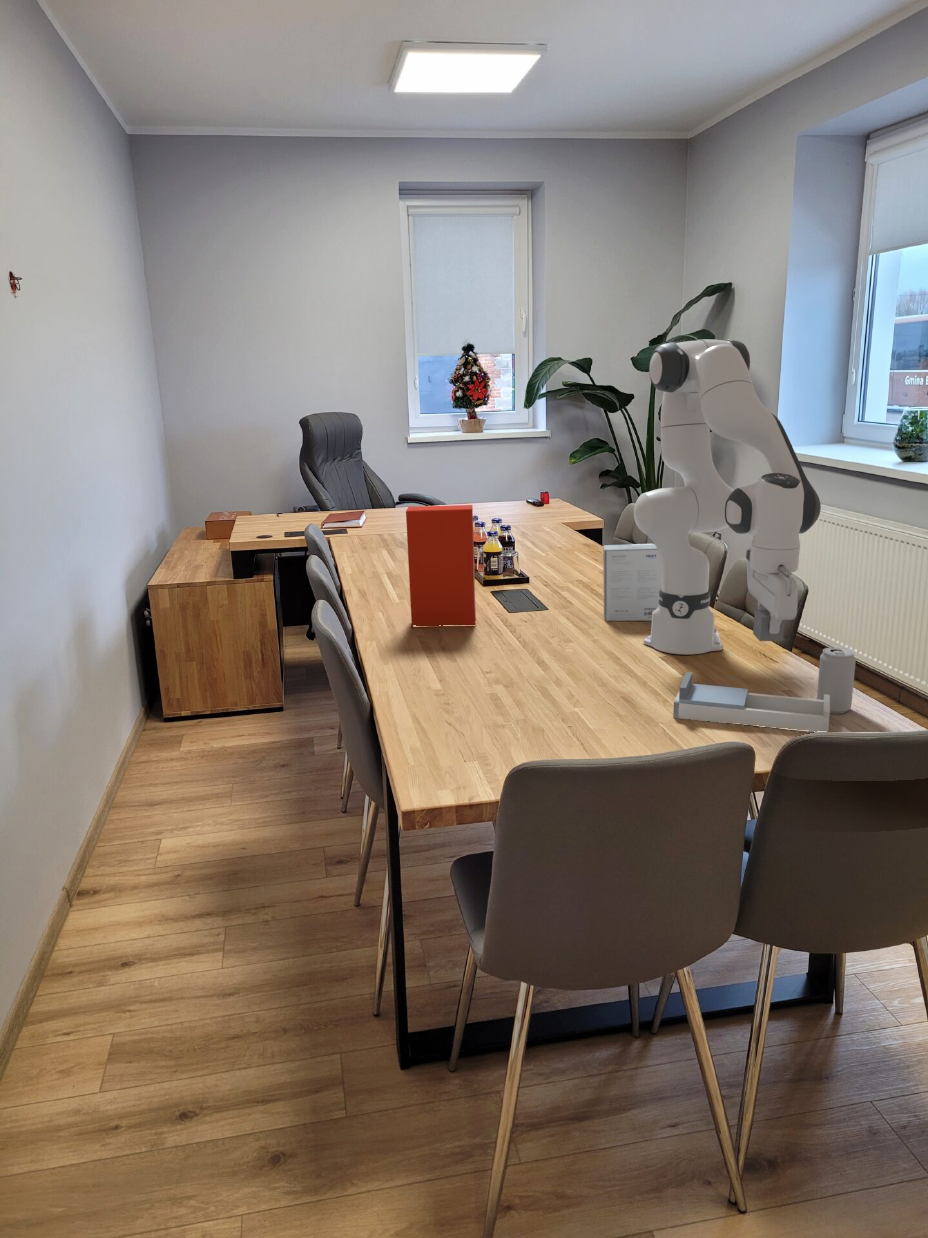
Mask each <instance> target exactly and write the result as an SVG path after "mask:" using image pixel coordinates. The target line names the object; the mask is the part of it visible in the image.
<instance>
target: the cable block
mask: <svg viewBox="0 0 928 1238" xmlns="http://www.w3.org/2000/svg"><path fill="white" fill-rule="evenodd" d="M770 620H771V617H770V612H769V611H768V610H759V609H754V618H753V628H752V629H753V630H752V631H753V632H752V635H754V636H755V637H756V639H757V640H758V641H759V642H781V641H782V642H784V633H785V622H786V620H782V622H781V624H780V630H779V633H778V634H771V633H770V632H769V631H768V623H770Z"/></svg>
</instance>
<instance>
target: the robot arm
mask: <svg viewBox="0 0 928 1238" xmlns="http://www.w3.org/2000/svg"><path fill="white" fill-rule="evenodd" d="M649 360H650V361H649V365H648V369H649V378H650V381H651V384H652V385H653V386H654V387H655V389H656V390H658V391H660V392H663V395H662V400H661V407H660V408H661V410H660V442H661V443H660V445H661V447H660V448H661V460H662V461H663V462H664V465H666V466H667V467H668V468H669V469H671V470H673V471H675V472H677V473H678V474H679V475H680V476H681V478H682V480H683V483H684V486H680V487H679V486H677V487H664V488H663V487H662V488H657V489H653V490H650V491H646V492H643V493H641V494H640V495H639V496H638V498H637V499H636V501H635V503H634V508H633V518H634V521H635V524H636V526H637V528H638V529H639V530H640V531H641V532H642V534H645V536H647V537H648V538H649V539H650V540H651V542H653V544H655V546H656V548H657V550H658V552H659V556H660V561H661V589H660V590H659V596H658V598H659V607H658V608H657V609H656V610H655V611H654V612H653V613H652V621H651V628H650V635H648V636H647V637H645V638H644V639H643V644H644V645H645V646H649V647H653V648H654V649H655V650H656V651H657V650H658V651H659V652H662V653H663V652H664V653H668V654H674V655H701V654H706V653H708V652H716V651H722V650H723V643H722V640H721V637H720V634H719V631H718V629H717V628H716V627H715V620H716V619H715V617H716V616H715V615H714V614H713V612H712V611H711V609H710V604H711V592H710V589H709V581H710V561H709V558H708V557H707V555H706V554H705V553H704V552H703V551H701V550H700V549H697V548H696V547H693V546H692V545H691V543H690V539H689V537H690V536H689V535H690V534H697V533H699V534H700V533H711V532H712V533H714V532H717V531H721V530H725V529H727V528H730V529H731V530H732V531H734V532H735V533H736V534H740V535H752V540H751V547H749V548H747V549H745V559H746V560H747V567H746V575H747V576H746V577H747V580H746V581H747V583H746V586H747V589H748V593H749V594H750V595H751V596H752V597H753V598H755V600H757V610H768V611H769V612H770V617H771V620H770V623H768V631H769V632H770V633H771V634H778V633H779V630H780V624H781V622H782V620H785V621H786V620H789V621H790V620H794V619H796V617H797V615H798V614H797V613H798V602H799V601H798V600H799V599H798V595H799V593H798V592H799V589H798V587H799V586H798V582H797V580H796V578H794V577H793V576H792V573H795V572H798V570H799V564H800V563H799V562H800V552H801V540H800V535H801V534H804V533H806V532H807V531H809V530H810V529H811V528H812V527H813V526H814V525H815V523H816V522H817V521H818V518H819V517H820V514H821V512H822V511H821V510H822V509H821V508H822V507H821V506H822V504H821V499H820V498H819V495H818V493H817V491H816V490H815V488H814V486H813V485H812V483H810V481H809V479H808V478H807V476H806V474H805V471H804V470H803V467H802V465H801V462H800V461H799V459H798V456H797V454H796V452H795V450H794V448H793V445H792V443H791V440H790V439H789V436H788V434H787V432H786V430H785V428H784V426H783V424H782V422H781V421H780V419H779V418H778V417H777V416H776V415H774V414H773V413H772V412H770V411H769V410H768V409H767V407H766V406H765V405H764V404H763V403H762V401H761V399H760V398H759V397H758V395H757V392H756V390H755V386H754V383H753V379H752V376H751V374H750V367H751V355H750V352H749V350H748V348H747V346H746V344H745V343H743V342H741V341H739V340H734V339H729V338H728V339H725V340H721V339H709V338H708V339H703V338H702V339H697V340H687V341H682V342H681V341H680V342H673V341H672V342H666V343H663V344H661V345H658V346H657V347H656V348H655V349H654V350H653V352H652V354H651V356H650V359H649ZM711 432H713V433H715V435H718V436H719V437H721V438H724V439H726V440H730V441H735V442H737V443H741V444H744V445H746V446H750V447H752V448H753V449H756V450H757V451H759V452H760V453H761V454H762V455H763V456H764V457H765V458H766V461H767V463H768V465H769V468H770V470H771V472H769V473H766V474H765V473H764V474H763V475H762V476H760V477H759V478H758V480H757V482H755V483H753V484H749V485H746V486H742V487H737V488H735V489H734V488H733V487H731V486H730V485H728V484H727V483H726V482H725V481H724V479H722V476H720V474H719V472H718V471H717V468H716V466H715V464H714V460H713V454H712V444H711Z"/></svg>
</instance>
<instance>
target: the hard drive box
mask: <svg viewBox="0 0 928 1238" xmlns="http://www.w3.org/2000/svg"><path fill="white" fill-rule="evenodd" d="M602 550H603V551H602V552H603V554H602V555H603V559H602V560H603V561H602V562H603V566H602V567H603V571H602V572H603V618H604V621H605V622H624V621H625V622H627V621H628V622H629V621H631V622H633V621H636V622H637V621H639V622H640V621H641V622H643V621H645V622H647V621H648V622H652V613H653V612H654V611H655V610H656V609H657V608H658V607H659V598H658V596H659V590H660V589H661V561H660V556H659V552H658V550H657V548H656V546H655V544H654V543H636V544H635V543H632V544H631V543H630V544H627V543H626V544H608V545H607V544H605V545H603V549H602Z"/></svg>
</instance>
